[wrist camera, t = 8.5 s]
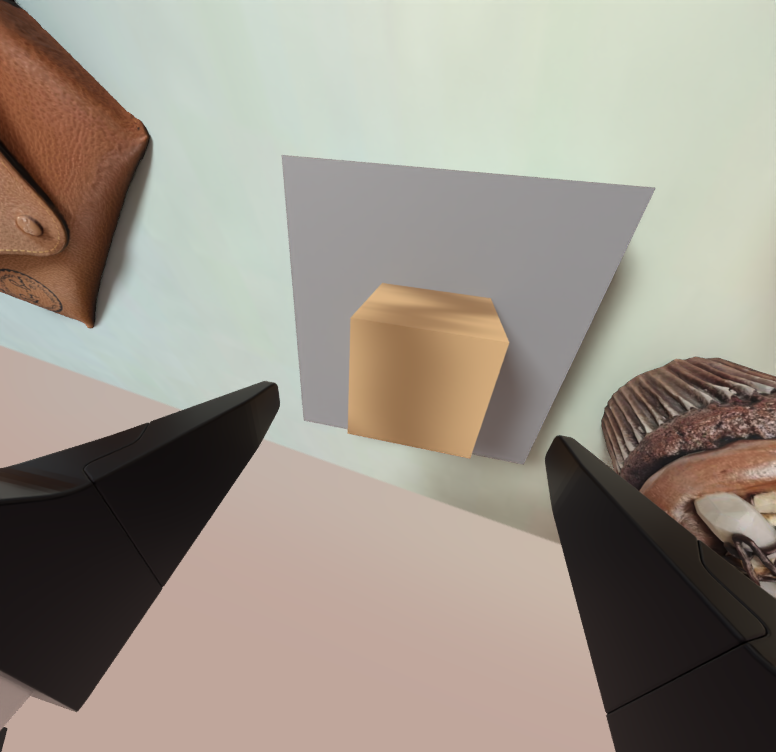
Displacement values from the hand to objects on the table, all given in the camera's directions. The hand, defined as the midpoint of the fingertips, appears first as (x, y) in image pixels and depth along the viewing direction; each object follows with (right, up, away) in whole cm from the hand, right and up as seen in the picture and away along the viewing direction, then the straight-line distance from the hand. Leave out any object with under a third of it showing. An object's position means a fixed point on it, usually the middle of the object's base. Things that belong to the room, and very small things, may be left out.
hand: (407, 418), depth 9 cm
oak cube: (+1, +3, +5) cm, 6 cm away
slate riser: (+2, +5, +9) cm, 10 cm away
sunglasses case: (-22, +13, +10) cm, 28 cm away
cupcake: (+17, -1, +9) cm, 20 cm away
